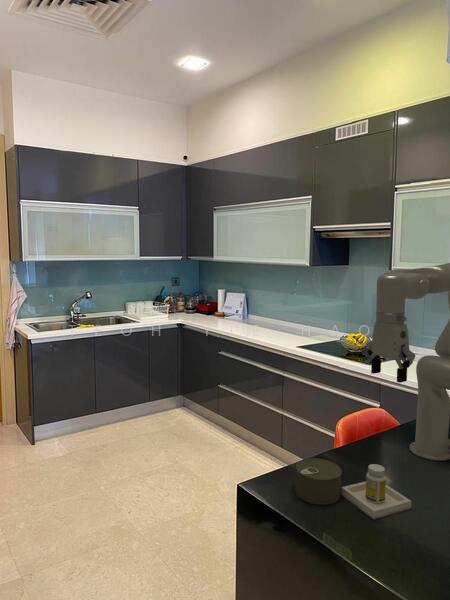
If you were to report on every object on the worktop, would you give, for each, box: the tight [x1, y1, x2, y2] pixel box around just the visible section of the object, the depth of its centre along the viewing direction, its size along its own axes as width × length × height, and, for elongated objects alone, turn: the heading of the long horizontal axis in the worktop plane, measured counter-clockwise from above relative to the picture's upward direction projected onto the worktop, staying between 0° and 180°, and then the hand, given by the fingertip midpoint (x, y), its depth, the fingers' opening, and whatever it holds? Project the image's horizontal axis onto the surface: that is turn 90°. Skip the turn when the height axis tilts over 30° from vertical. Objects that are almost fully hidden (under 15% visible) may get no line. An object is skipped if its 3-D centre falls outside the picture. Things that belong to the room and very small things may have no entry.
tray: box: [340, 481, 412, 520], centre depth 114 cm, size 12×12×2 cm
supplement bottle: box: [365, 463, 387, 503], centre depth 114 cm, size 5×5×8 cm
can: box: [294, 457, 343, 506], centre depth 118 cm, size 12×12×7 cm
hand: (388, 377), depth 128 cm, fingers open, 9 cm apart
